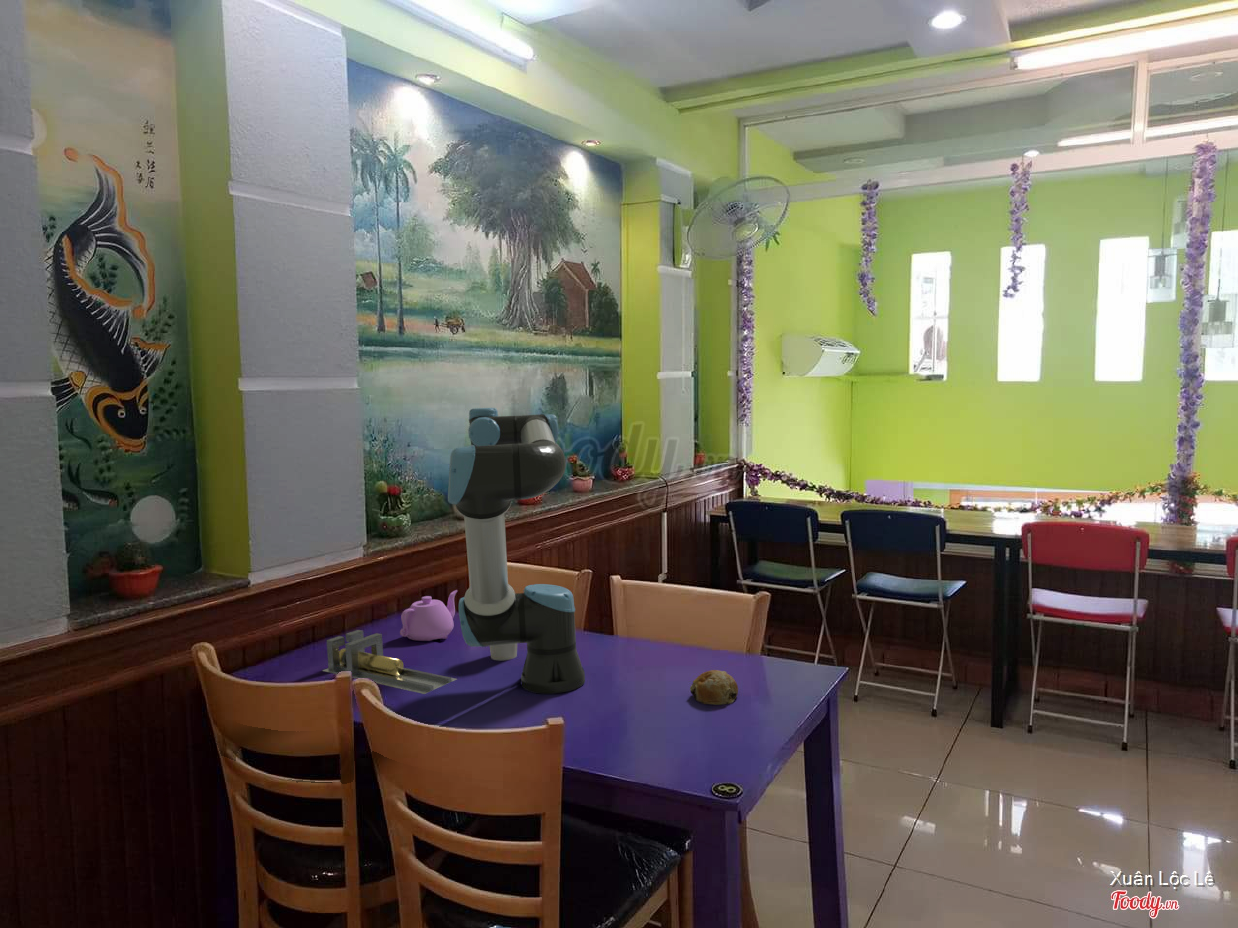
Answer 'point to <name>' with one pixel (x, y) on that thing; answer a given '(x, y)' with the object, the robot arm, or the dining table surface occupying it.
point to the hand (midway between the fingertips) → (491, 555)
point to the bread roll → (714, 688)
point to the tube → (375, 662)
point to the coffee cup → (503, 652)
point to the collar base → (405, 680)
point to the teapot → (428, 619)
